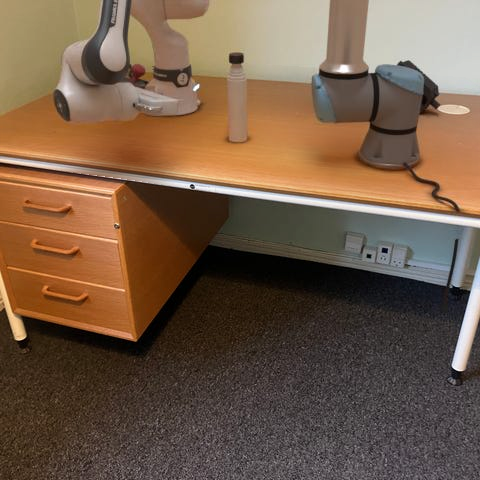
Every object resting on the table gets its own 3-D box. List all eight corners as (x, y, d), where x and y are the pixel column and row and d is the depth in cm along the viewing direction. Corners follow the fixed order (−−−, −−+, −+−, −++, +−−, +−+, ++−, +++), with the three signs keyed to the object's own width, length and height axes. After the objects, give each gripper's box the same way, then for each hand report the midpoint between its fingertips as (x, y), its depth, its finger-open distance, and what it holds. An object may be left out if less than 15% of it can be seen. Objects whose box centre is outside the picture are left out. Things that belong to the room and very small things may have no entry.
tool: (378, 91, 179) (405, 54, 169) (421, 128, 175) (451, 93, 164) (370, 95, 176) (396, 58, 165) (413, 134, 171) (443, 98, 161)
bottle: (245, 134, 156) (244, 52, 143) (249, 141, 151) (248, 57, 139) (227, 136, 155) (224, 53, 143) (230, 143, 150) (228, 58, 138)
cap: (242, 60, 144) (242, 51, 143) (245, 63, 140) (245, 55, 139) (228, 61, 143) (227, 52, 142) (230, 64, 140) (230, 56, 139)
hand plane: (62, 90, 197) (53, 48, 189) (145, 82, 205) (140, 41, 197) (62, 96, 191) (54, 53, 184) (148, 87, 199) (143, 45, 191)
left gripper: (147, 95, 119) (196, 93, 127) (103, 81, 132) (150, 80, 141) (147, 124, 121) (195, 119, 130) (103, 107, 135) (150, 104, 143)
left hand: (171, 99), depth 135 cm, fingers open, 8 cm apart
